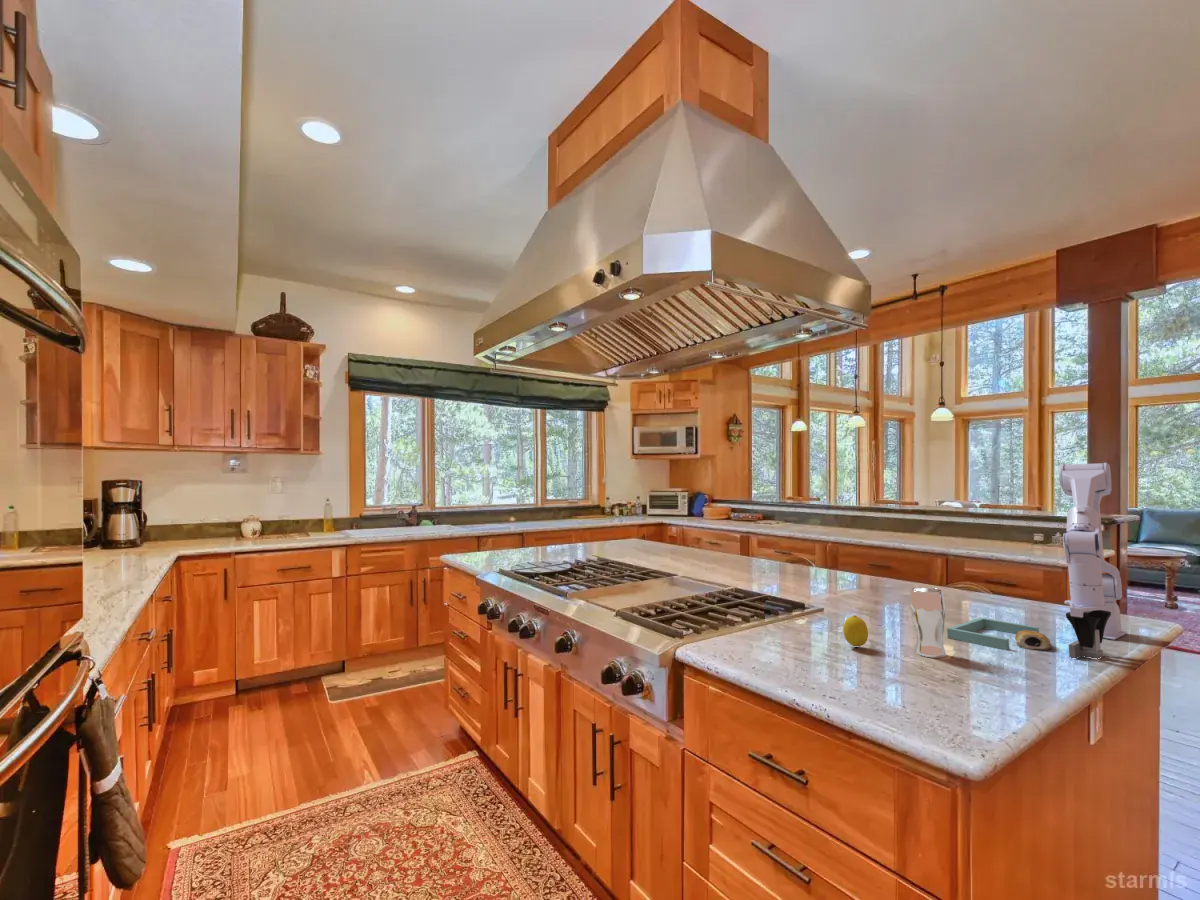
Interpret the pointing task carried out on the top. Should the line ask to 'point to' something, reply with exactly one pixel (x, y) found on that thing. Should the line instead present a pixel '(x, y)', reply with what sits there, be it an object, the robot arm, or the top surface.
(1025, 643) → the pastry
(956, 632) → the bay
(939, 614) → the beer glass
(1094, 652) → the pusher
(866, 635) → the lemon
